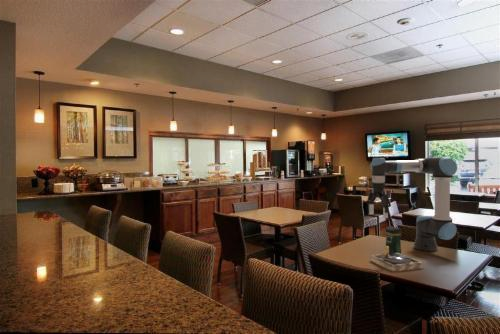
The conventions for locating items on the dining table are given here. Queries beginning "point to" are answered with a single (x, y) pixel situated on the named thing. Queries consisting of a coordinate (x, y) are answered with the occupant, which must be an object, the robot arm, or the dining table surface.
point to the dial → (395, 257)
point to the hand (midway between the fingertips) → (378, 216)
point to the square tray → (396, 267)
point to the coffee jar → (393, 239)
